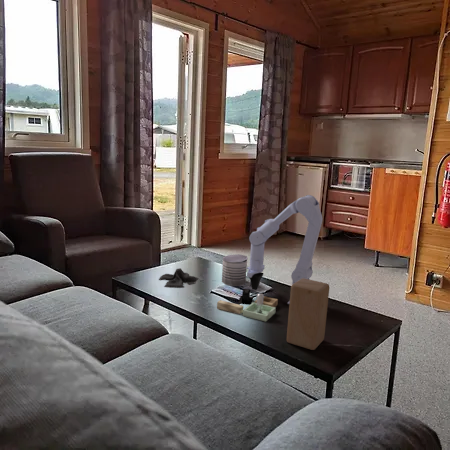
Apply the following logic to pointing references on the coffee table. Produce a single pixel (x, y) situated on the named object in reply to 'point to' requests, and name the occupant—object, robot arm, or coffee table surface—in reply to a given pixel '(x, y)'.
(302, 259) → the robot arm
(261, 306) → the pin
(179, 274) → the cloth
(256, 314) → the tray
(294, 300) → the wooden block
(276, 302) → the pin socket
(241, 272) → the can
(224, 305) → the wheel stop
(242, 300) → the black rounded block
